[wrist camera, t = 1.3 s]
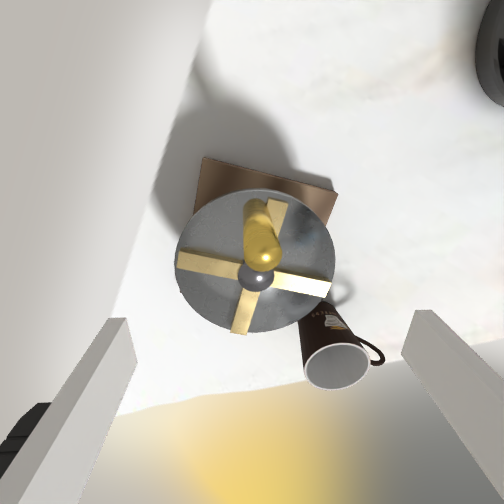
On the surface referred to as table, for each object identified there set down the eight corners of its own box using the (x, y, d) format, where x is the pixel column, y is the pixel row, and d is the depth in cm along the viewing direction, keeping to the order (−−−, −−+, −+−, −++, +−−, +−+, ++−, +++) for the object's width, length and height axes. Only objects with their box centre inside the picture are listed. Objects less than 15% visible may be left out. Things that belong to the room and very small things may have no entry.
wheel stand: (334, 191, 34) (351, 203, 29) (289, 307, 42) (296, 334, 37) (204, 157, 32) (196, 163, 27) (181, 286, 40) (172, 312, 34)
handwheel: (356, 210, 29) (420, 259, 19) (301, 334, 36) (326, 418, 26) (190, 168, 26) (157, 197, 16) (168, 311, 34) (136, 394, 23)
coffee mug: (280, 322, 44) (290, 374, 35) (315, 286, 41) (336, 332, 32) (331, 351, 47) (353, 406, 38) (367, 319, 44) (399, 370, 35)
